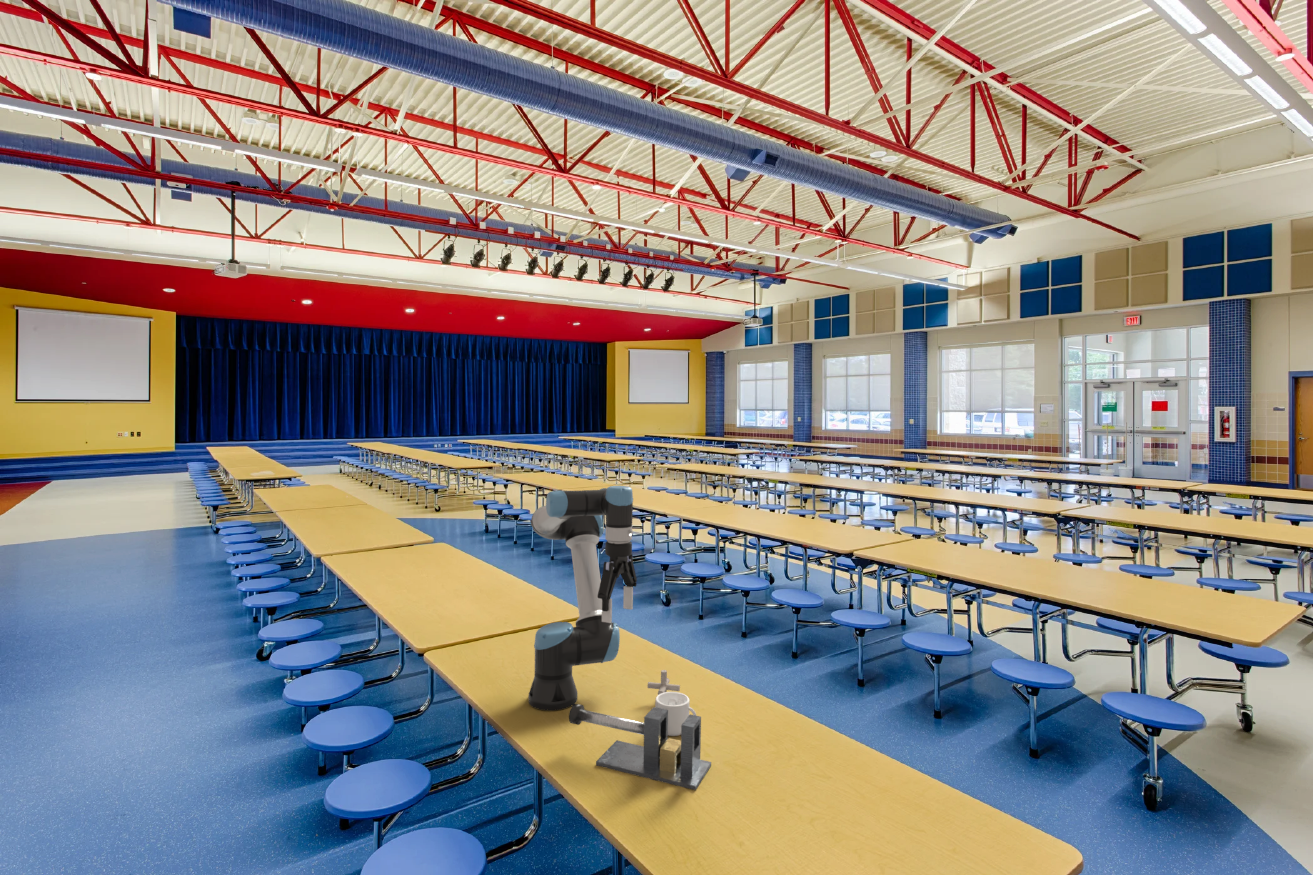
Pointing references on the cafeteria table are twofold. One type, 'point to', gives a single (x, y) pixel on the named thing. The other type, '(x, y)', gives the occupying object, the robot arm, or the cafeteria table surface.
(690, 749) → the bearing block
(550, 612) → the cafeteria table surface
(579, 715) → the shaft
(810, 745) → the cafeteria table surface
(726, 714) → the cafeteria table surface
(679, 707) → the mug
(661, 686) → the pipe connector
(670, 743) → the spacer
